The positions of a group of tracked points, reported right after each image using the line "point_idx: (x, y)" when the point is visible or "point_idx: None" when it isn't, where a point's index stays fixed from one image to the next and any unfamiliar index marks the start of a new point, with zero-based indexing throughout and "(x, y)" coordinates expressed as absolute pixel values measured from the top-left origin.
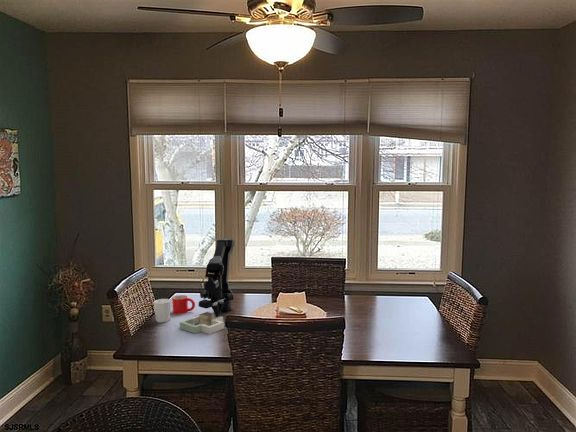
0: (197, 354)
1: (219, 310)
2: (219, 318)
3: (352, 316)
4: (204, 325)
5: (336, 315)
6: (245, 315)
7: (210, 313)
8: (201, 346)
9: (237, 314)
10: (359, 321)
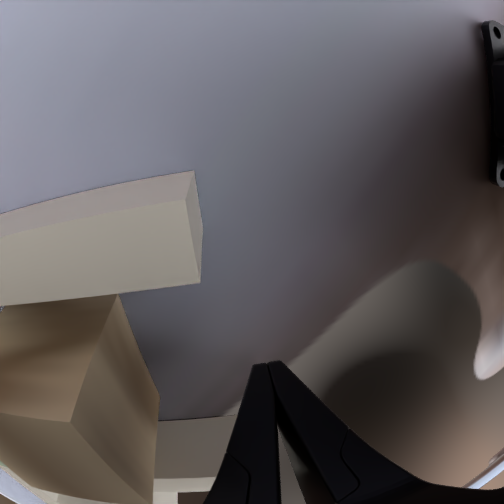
0: (6, 496)
1: (302, 491)
2: (194, 490)
3: (491, 465)
4: (22, 481)
5: (496, 456)
6: (479, 368)
7: (107, 487)
8: (16, 489)
9: (489, 315)
10: (464, 487)
